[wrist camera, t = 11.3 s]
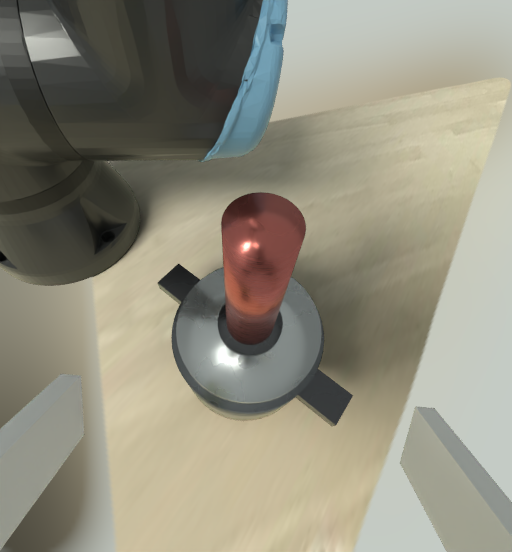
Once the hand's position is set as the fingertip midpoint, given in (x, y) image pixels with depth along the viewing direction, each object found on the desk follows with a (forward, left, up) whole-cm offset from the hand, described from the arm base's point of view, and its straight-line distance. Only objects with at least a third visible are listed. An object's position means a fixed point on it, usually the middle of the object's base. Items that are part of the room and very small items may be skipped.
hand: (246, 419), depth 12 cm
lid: (-6, +2, -8) cm, 10 cm away
